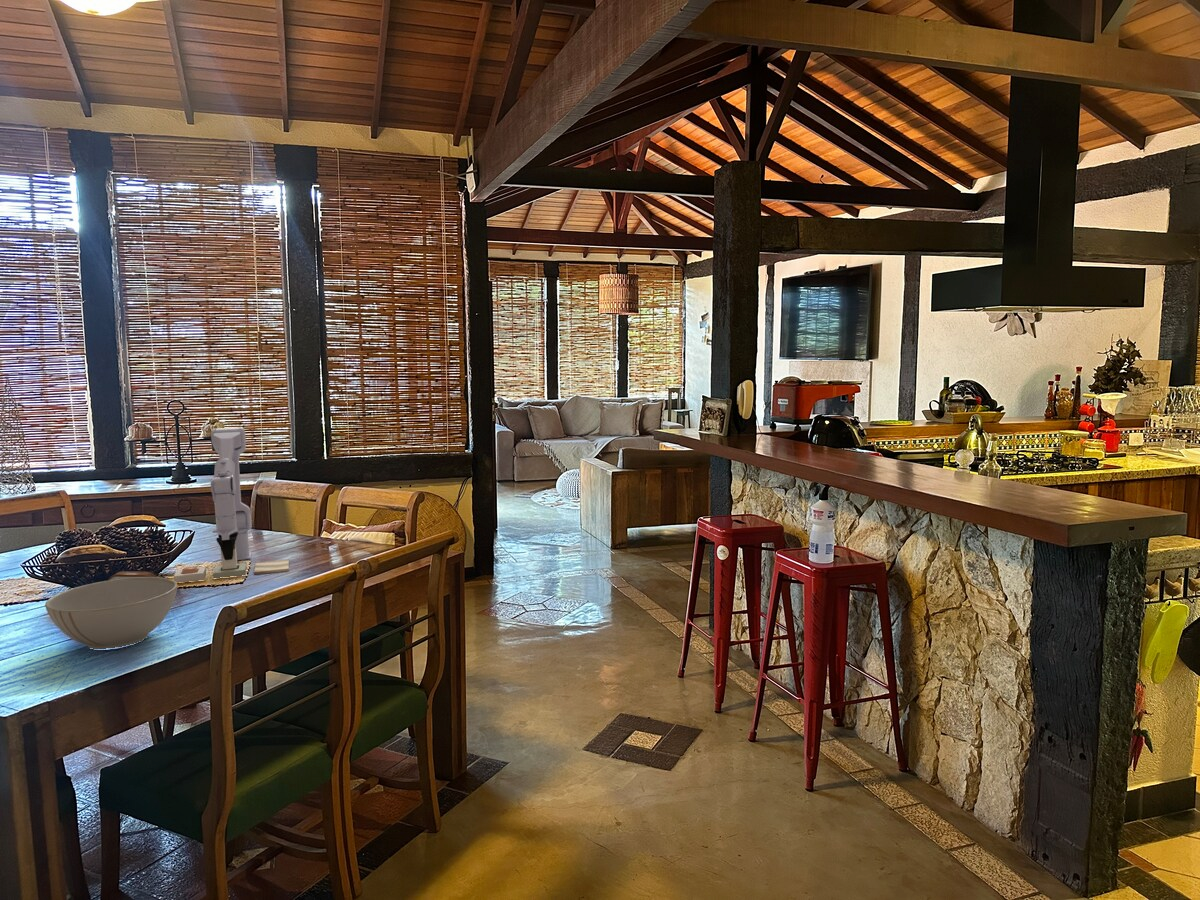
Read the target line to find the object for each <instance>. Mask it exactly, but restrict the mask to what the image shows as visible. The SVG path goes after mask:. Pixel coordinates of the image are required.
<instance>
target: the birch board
mask: <svg viewBox="0 0 1200 900" xmlns="http://www.w3.org/2000/svg"><path fill="white" fill-rule="evenodd" d="M253 571H254V572H253V574H254V576H256V575H264V574H272V573H273V574H274V573H280V572H282V571H283V572H290V560H289V559H281V560H271V561H263V562H262V561H261V562H255V565H254V570H253ZM283 572H282V573H283Z"/></svg>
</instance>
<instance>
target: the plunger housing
mask: <svg viewBox="0 0 1200 900" xmlns="http://www.w3.org/2000/svg"><path fill="white" fill-rule="evenodd" d="M182 569H183V568H181V569H179V568H178V569H176V570H175V573H174V574H173V580H174V581H175V582H178V583H179V582H189V581H198V580H204V578H205V579H206V577H205V575H206V576H207V567H206V566H199V567H197V572H196V573H187V574H183V570H182ZM204 581H205V580H204Z"/></svg>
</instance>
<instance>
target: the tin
mask: <svg viewBox="0 0 1200 900" xmlns="http://www.w3.org/2000/svg"><path fill="white" fill-rule="evenodd" d="M135 577H158V576H157V574H155V573H153V572H151V571H132V570H131V571H125V570H121V571H118V572H116V573H115V574H113V575H111V576H110V577H109V578H108V580H107V581H109V580H116V579H124V578H135Z"/></svg>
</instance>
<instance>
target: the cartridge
mask: <svg viewBox="0 0 1200 900" xmlns="http://www.w3.org/2000/svg"><path fill="white" fill-rule="evenodd" d="M220 555H221V558H220V559H221V565H222V569H231V568H237V564H238V560H237V554H236V543H235V544H234V550H233V558H232V560H225V559H224V556H223V553H222V550H221V549H220Z"/></svg>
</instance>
